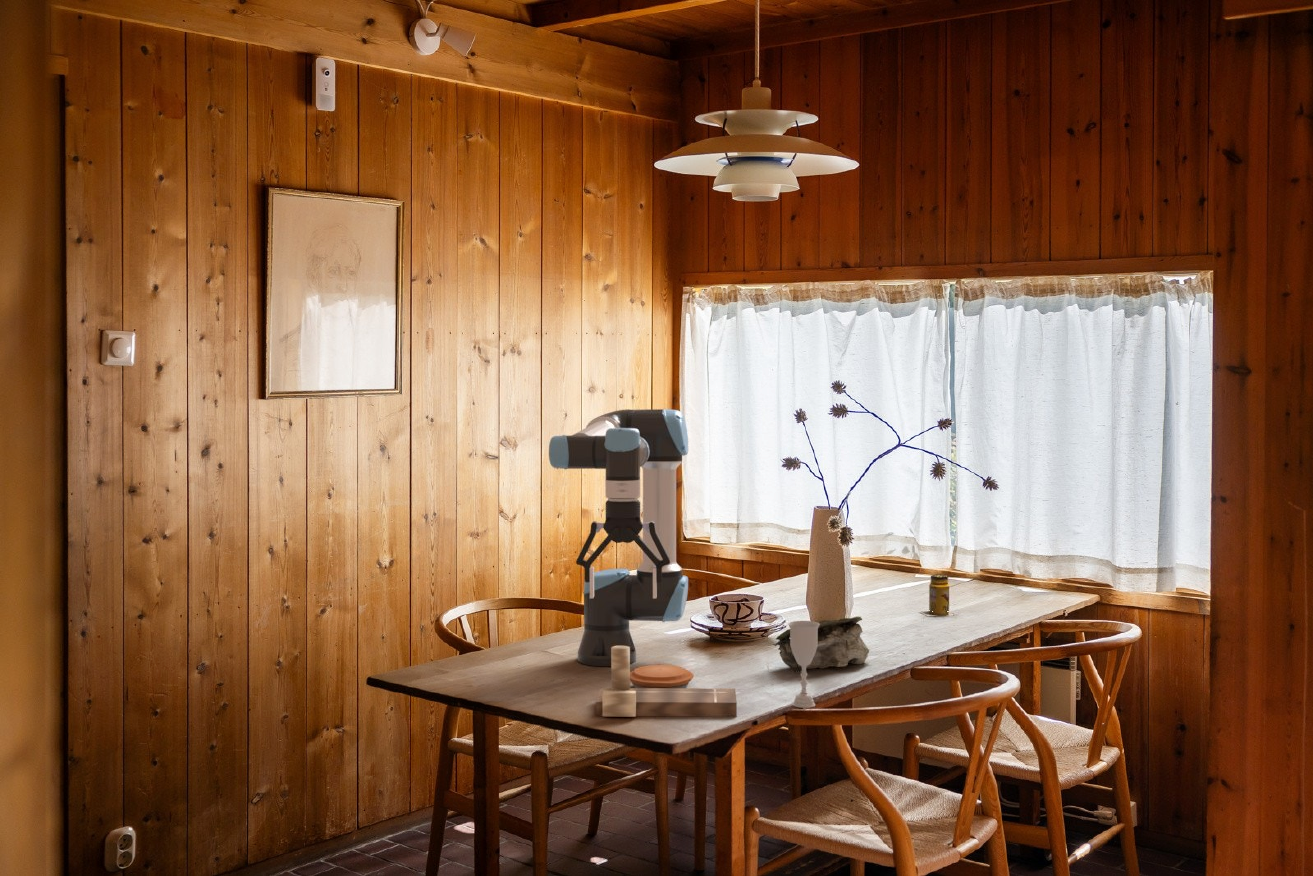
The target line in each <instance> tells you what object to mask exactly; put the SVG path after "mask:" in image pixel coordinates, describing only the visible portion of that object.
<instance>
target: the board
mask: <svg viewBox="0 0 1313 876" xmlns="http://www.w3.org/2000/svg"><path fill="white" fill-rule="evenodd" d="M603 691H615V690H612V687H611V688H610V687H601V688H600V690H599V693H598V696H597V699H596V704H595V705H596V706H595V708H596V709H595V710H596V712H595V713H596V715H595V716H597V717H599V716H600V717H604V716H603V704H602V693H603ZM628 691H636V717H733V718H735V717H738V716H737V713H738V712H737V711H738V710H737V706H738V702H737V694H736V688H717V687H716V688H715V687H714V688H697V687H696V688H689V687H686V688H635V687H630V689H629V690H628Z"/></svg>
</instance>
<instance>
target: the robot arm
mask: <svg viewBox="0 0 1313 876" xmlns="http://www.w3.org/2000/svg"><path fill="white" fill-rule="evenodd" d="M688 453H689V437H688V429H687V424H686V420H685V417H684V415H683V413H682V412H681V411H680V410H677V409H667V408H662V409H661V408H660V409H657V408H656V409H655V408H653V409H651V408H650V409H647V408H646V409H645V408H644V409H619V410H618V409H617V410H615V411H614V410H613V411H611V412H608V413H604V414H601V415H599V416H596V417H595V418H593V419H591V420H590V421H589V422H588V424H587V425H586V426H585V427H584V428H583V429H581V430H579V431H578V432H576V433H574V434H572V435H568V434H567V435H565V434H562V435H554V436H552V437H551V438H550V441H549V444H548V460H549V464H550V466H551V467H552V468H553V469H561V470H562V469H564V470H574V469H575V470H576V469H577V470H579V469H582V470H583V469H586V470H589V469H591V470H592V469H593V470H594V469H596V470H605V481H604V482H605V498H606V499H607V500H606V502H605V521H604V523H603V522H597V521H596V520H594V521H592V522H591V524H590V531H589V532H590V533H589V534H588V536H587V538H586V540H585V542H584V544H583V547H582V549H581V550H580V553H579V555H578V557H577V558H576V560H575V563H576V565H578V566H581V567H583V569H584V583H583V584H584V585H583V591H582V594H583V624H584V625H583V627H584V629H583V634H582V637H581V639H580V640H581V641H580V642H579V647H578V650H577V662H578V663H581V664H583V665H587V666H592V667H593V666H594V667H611V647H613V646H628V647H630V664H632V663H634V662H636V661H637V649H636V646H635V644H634V641H633V637H632V634H631V632H630V621H635V622H636V621H637V622H662V623H665V622H678V621H680V620H681V619H682V617H683V615H684V613H685V609H686V604H687V599H688V593H689V592H688V591H689V577H688V576H686V575H683V568H682V566H680V565H679V563H677V469H678V468H679V466H680V465H681V464H682V463H683V456H687V455H688ZM641 468H642V519H641V501H640V500H639V499H640V497H641ZM641 520H642V521H641ZM602 529H603V530H604V532H605V533H606V534H607V536H606V537H605V538H604V540H603V541H602V542H601V543H600V544H599V545H598V547H597V548H596V549H595V550H594V552H592V554H591V555H590V556H589V557H588V559H585V558H586V557H585V556H586V555H587V553H588V552H589V551H588V550H589V549H590V547H591V545H592V543H593V540H594V539H595V536H596V535H597V533H600V531H601V530H602ZM641 531H642V537H641V536H640V532H641ZM611 542H613V543H615V544H620V543H626V544H631V543H632V542H635V544H636V545H637V546H638V547H639V548H640V549H641V550H642V562H641V563H640V564H639V566H638V567H637V568H636V574H631V573H630V571H629V569H628V568H612V569H610V568H609V569H603V570H598V571H595V566H591V565H592V564H593V563H594V562H595V561H596V560H597V558H598V557H600V555H601V554H602V552H603V551H604V550H605V549H606V548H607V546H609V544H610V543H611Z"/></svg>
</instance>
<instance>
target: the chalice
mask: <svg viewBox="0 0 1313 876" xmlns="http://www.w3.org/2000/svg"><path fill="white" fill-rule="evenodd" d="M787 624H788V627H789V629H790V646H791V649H792V652H793V655H794V657H795V659H796V661H797V663H798V664H799V665H801V667H802V672H800V676H801V681H800V686H801V691H800V692H798V693H797V694H796V695H795V698H794V701H793V703H792V706H793V707H795V708H803V709H804V708H808V709H809V708H813V707H815V706H816V703H815V701H814V698H813V696H812V694H811V693H809V692H808V690H807V685H808V684H809V682H808V681H807V676H808V672H807V669H806V666H807V665H809V664H810V663H811V661H812V659H813V657H814V655H815V652H816V649H817V646H818V627H819V625H820V624H819V623H818V621H812V620H797V621H796V620H795V621H790V622H788V623H787Z"/></svg>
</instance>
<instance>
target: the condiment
mask: <svg viewBox="0 0 1313 876" xmlns="http://www.w3.org/2000/svg"><path fill="white" fill-rule="evenodd" d="M929 582H930V583H929V585H928V589H929V590H928V595H929V597H928V598H929V600H928V603H929V604H928V611H927V610H926V611H918V612H919V613H920V614H922V615H924V616H927V617H939V616H940V617H947V616H950V617H951V616H954V614H952V613H950V584H949V576H948V575H946V574H931V575H930V581H929ZM929 610H930V611H929ZM932 611H933V612H932ZM947 611H949V612H947ZM949 614H950V615H949Z"/></svg>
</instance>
